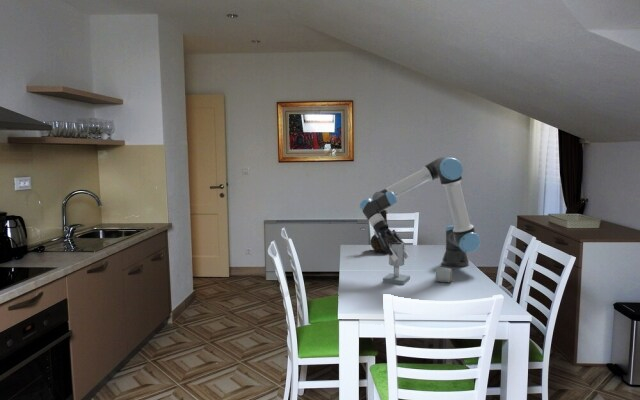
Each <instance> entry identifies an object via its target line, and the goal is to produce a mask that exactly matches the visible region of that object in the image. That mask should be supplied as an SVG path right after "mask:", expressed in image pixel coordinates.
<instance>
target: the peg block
mask: <svg viewBox="0 0 640 400" xmlns="http://www.w3.org/2000/svg"><path fill="white" fill-rule="evenodd" d="M410 280H411V275H407V274H400V266H393V273H388V274H387V275H385V276H384V277H383V278H382V283H387V284H394V285H402V286H404V285H406V283H408V282H409V281H410Z"/></svg>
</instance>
